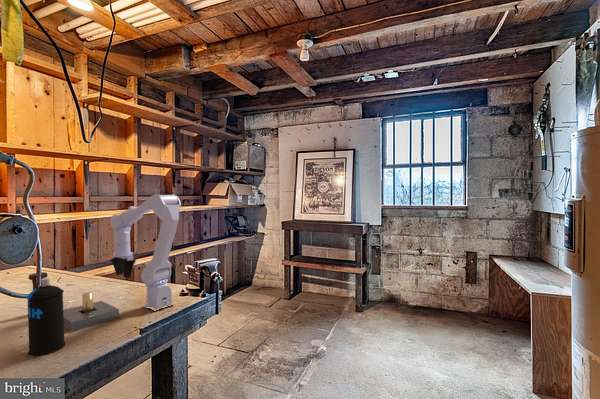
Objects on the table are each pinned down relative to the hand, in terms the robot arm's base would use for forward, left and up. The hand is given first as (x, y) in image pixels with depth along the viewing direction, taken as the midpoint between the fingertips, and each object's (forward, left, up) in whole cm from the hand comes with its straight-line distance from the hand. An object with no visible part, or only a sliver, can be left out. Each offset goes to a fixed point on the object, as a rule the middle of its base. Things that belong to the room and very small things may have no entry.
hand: (123, 276), depth 128 cm
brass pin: (-10, +16, -10) cm, 22 cm away
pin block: (-10, +16, -10) cm, 22 cm away
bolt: (+12, +25, -11) cm, 30 cm away
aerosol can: (-26, +31, -11) cm, 42 cm away
